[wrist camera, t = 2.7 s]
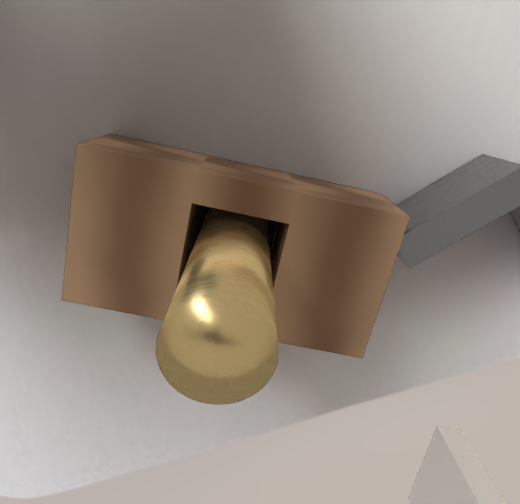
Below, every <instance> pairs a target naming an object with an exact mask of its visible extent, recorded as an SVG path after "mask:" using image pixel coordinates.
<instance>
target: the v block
mask: <svg viewBox="0 0 520 504" xmlns="http://www.w3.org/2000/svg"><path fill="white" fill-rule="evenodd" d="M396 206H397V207H398V208H400V209H401V210H402V211H403V212H404V213H406V214H407V215H408V216H409V217H410V218H409V221H408V224H407V227H406V230H405V233H404V236H403V239H402V242H401V245H400V248H399V251H398V254H397V255H398V256H399V257H400V258H401V259H402V260H403V262H404V263H405V264H406V265H407V266H408V267H409V268H411V267H413V266H414V265H416V264H418V263H420V262H421V261H423V260H425V259H427V258H429V257H430V256H432V255H434V254H436V253H437V252H439V251H441V250H443V249H444V248H446V247H448V246H450V245H452V244H453V243H455V242H457V241H459V240H460V239H462V238H464V237H466V236H468V235H469V234H471V233H473V232H475V231H476V230H478V229H480V228H482V227H483V226H485V225H487V224H489V223H491V222H492V221H494V220H496V219H498V218H499V217H501V216H503V215H505V214H507V213H508V212H511V214H512V216H513V219H514V221H515V223H516V225H517V227H518V229H519V231H520V164H516V163H513V162H509V161H506V160H502V159H498V158H495V157H491V156H488V155H484V154H482V155H480V156H479V157H477V158H475V159H473V160H472V161H470V162H468V163H467V164H465V165H463V166H462V167H460V168H458V169H457V170H455V171H453V172H451V173H450V174H448V175H446V176H445V177H443V178H441V179H440V180H438V181H436V182H435V183H433V184H431V185H430V186H428V187H426V188H424V189H423V190H421V191H419V192H418V193H416V194H414V195H413V196H411V197H409V198H408V199H406V200H404V201H402V202H401V203H399V204H397V205H396Z"/></svg>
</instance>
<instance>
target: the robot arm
mask: <svg viewBox="0 0 520 504" xmlns="http://www.w3.org/2000/svg"><path fill="white" fill-rule="evenodd" d="M408 498H409V501H410V503H411V504H505V502H504V500H503V499H502V497H501V495H500V494H499V492H498V490H497V489H496V487H495V485H494V484H493V482H492V480H491V479H490V477H489V476H488V474H487V472H486V471H485V469H484V467H483V466H482V464H481V462H480V461H479V459H478V457H477V456H476V454H475V452H474V451H473V449H472V448H471V446H470V444H469V443H468V441H467V439H466V438H465V436H464V434H463V433H462V431H461V430H456V429H450V428H445V427H440V426H437V427H436V429H435V432H434V434H433V437H432V440H431V442H430V444H429V447H428V449H427V452H426V454H425V457H424V459H423V462H422V464H421V467H420V469H419V472H418V474H417V477H416V479H415V482H414V484H413V486H412V489H411V491H410V494H409V496H408Z"/></svg>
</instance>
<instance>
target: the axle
mask: <svg viewBox="0 0 520 504" xmlns="http://www.w3.org/2000/svg"><path fill="white" fill-rule="evenodd" d="M156 357H157V361H158V365H159V367H160V370H161V372H162V374H163V375H164V377H165V378H166V380H167V381H168V382H169V383H170V384H171V385H172V387H174V388H175V389H176V390H177V391H178V392H180V393H181V394H183V395H185V396H186V397H188V398H191V399H193V400H196V401H198V402H202V403H207V404H230V403H235V402H238V401H241V400H244V399H246V398H248V397H251V396H252V395H254V394H255V393H257V392H258V391H259V390H261V389H262V388H263V387H264V386H265V385H266V384H267V382H268V381H269V380H270V378H271V377H272V375H273V373H274V371H275V368H276V365H277V361H278V339H277V328H276V316H275V305H274V293H273V282H272V271H271V259H270V248H269V236H268V226H267V221H266V219H263V218H259V217H254V216H249V215H245V214H240V213H235V212H231V211H226V210H221V209H216V208H211V209H210V210H209V211H208V213H207V215H206V217H205V219H204V222H203V224H202V227H201V229H200V232H199V234H198V237H197V239H196V242H195V244H194V247H193V249H192V252H191V254H190V257H189V259H188V262H187V264H186V267H185V269H184V272H183V274H182V276H181V279H180V281H179V284H178V286H177V289H176V291H175V294H174V296H173V299H172V301H171V304H170V306H169V309H168V311H167V314H166V316H165V319H164V321H163V324H162V326H161V329H160V331H159V334H158V338H157V342H156Z"/></svg>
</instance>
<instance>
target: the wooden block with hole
mask: <svg viewBox="0 0 520 504" xmlns="http://www.w3.org/2000/svg"><path fill="white" fill-rule="evenodd" d="M199 205H202V206H207V207H212V208H216V209H221V210H226V211H231V212H235V213H240V214H245V215H249V216H254V217H259V218H263V219H268V220H273V221H277V222H278V224H277V228H276V233H275V237H274V241H273V245H272V249H271V253H270V259H271V271H272V282H273V293H274V305H275V316H276V328H277V339H278V342H280V343H285V344H291V345H296V346H301V347H306V348H311V349H316V350H322V351H327V352H332V353H337V354H342V355H348V356H353V357H358V358H363V356H364V353H365V350H366V347H367V344H368V341H369V338H370V335H371V332H372V329H373V326H374V323H375V320H376V317H377V314H378V311H379V308H380V305H381V302H382V299H383V296H384V293H385V290H386V287H387V284H388V281H389V278H390V275H391V272H392V269H393V266H394V263H395V260H396V257H397V254H398V251H399V248H400V245H401V242H402V239H403V236H404V233H405V230H406V227H407V224H408V221H409V218H410V217H409V216H408V215H407V214H406V213H404V212H403V211H402V210H401V209H400V208H398V207H397V206H396V205H395V204H393V203H392V202H391V201H390V200H389V199H387V198H386V197H385V196H384V195H382V194H379V193H375V192H370V191H366V190H361V189H357V188H352V187H348V186H343V185H339V184H334V183H330V182H325V181H321V180H316V179H312V178H307V177H303V176H298V175H294V174H289V173H285V172H280V171H275V170H271V169H266V168H262V167H257V166H253V165H248V164H244V163H239V162H235V161H230V160H226V159H221V158H217V157H212V156H208V155H203V154H199V153H194V152H190V151H185V150H181V149H176V148H172V147H167V146H163V145H158V144H154V143H149V142H145V141H140V140H136V139H131V138H127V137H122V136H118V135H113V134H108V135H105V136H102V137H98V138H95V139H92V140H88V141H85V142H81V143H78V144H77V146H76V156H75V166H74V177H73V187H72V197H71V208H70V218H69V228H68V239H67V249H66V259H65V270H64V280H63V290H62V300H63V301H68V302H73V303H78V304H84V305H89V306H94V307H99V308H104V309H109V310H115V311H120V312H125V313H130V314H135V315H140V316H146V317H151V318H156V319H161V320H164V319H165V316H166V314H167V311H168V309H169V306H170V304H171V301H172V299H173V296H174V294H175V291H176V289H177V286H178V284H179V281H180V279H181V276H182V274H183V272H184V269H185V267H186V264H187V262H188V259H189V257H190V252H191V247H192V241H193V236H194V230H195V225H196V220H197V214H198V209H199Z"/></svg>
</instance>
